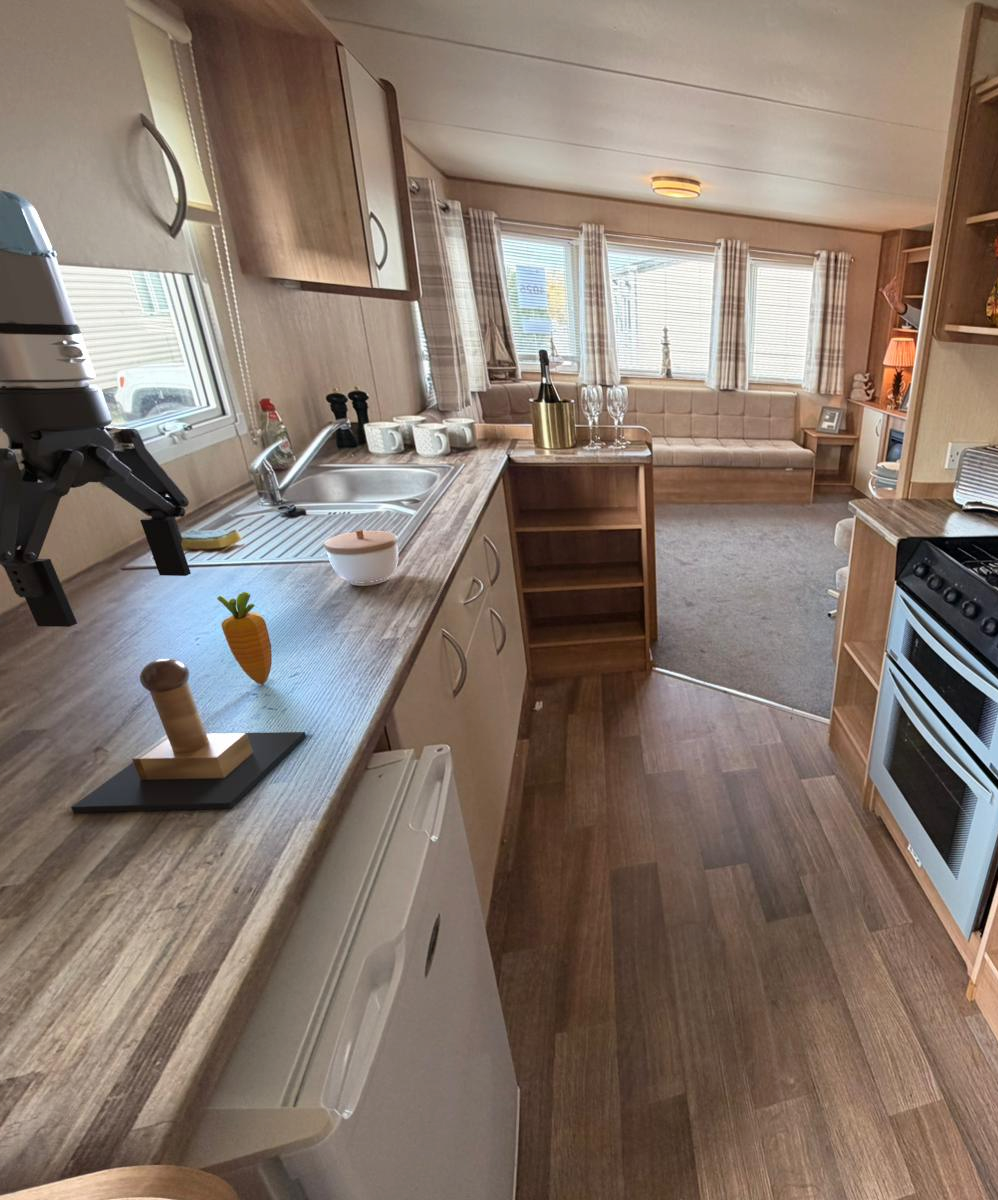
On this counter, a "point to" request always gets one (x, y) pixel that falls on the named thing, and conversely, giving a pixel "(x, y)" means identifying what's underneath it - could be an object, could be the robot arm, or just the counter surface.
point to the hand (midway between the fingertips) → (122, 597)
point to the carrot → (248, 638)
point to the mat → (191, 782)
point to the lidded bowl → (363, 556)
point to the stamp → (184, 731)
